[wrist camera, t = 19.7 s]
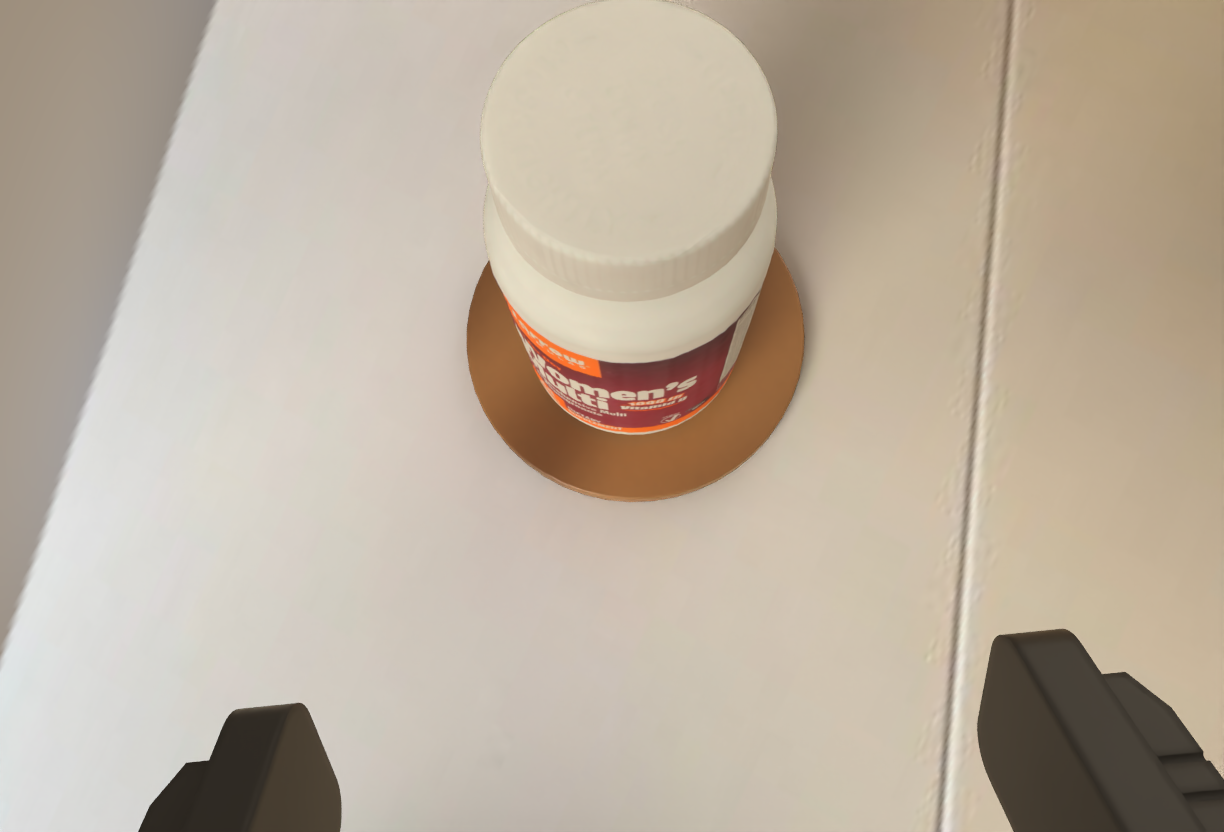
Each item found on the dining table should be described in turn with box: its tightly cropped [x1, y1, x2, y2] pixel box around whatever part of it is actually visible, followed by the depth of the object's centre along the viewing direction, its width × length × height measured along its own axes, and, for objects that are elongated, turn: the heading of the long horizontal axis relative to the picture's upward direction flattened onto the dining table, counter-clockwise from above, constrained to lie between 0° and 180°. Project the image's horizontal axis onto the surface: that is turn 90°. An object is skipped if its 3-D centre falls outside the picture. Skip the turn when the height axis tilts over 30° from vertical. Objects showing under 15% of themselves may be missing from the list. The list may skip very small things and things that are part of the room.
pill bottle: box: [480, 0, 778, 435], centre depth 20 cm, size 6×6×11 cm
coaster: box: [467, 247, 804, 502], centre depth 26 cm, size 10×10×1 cm
